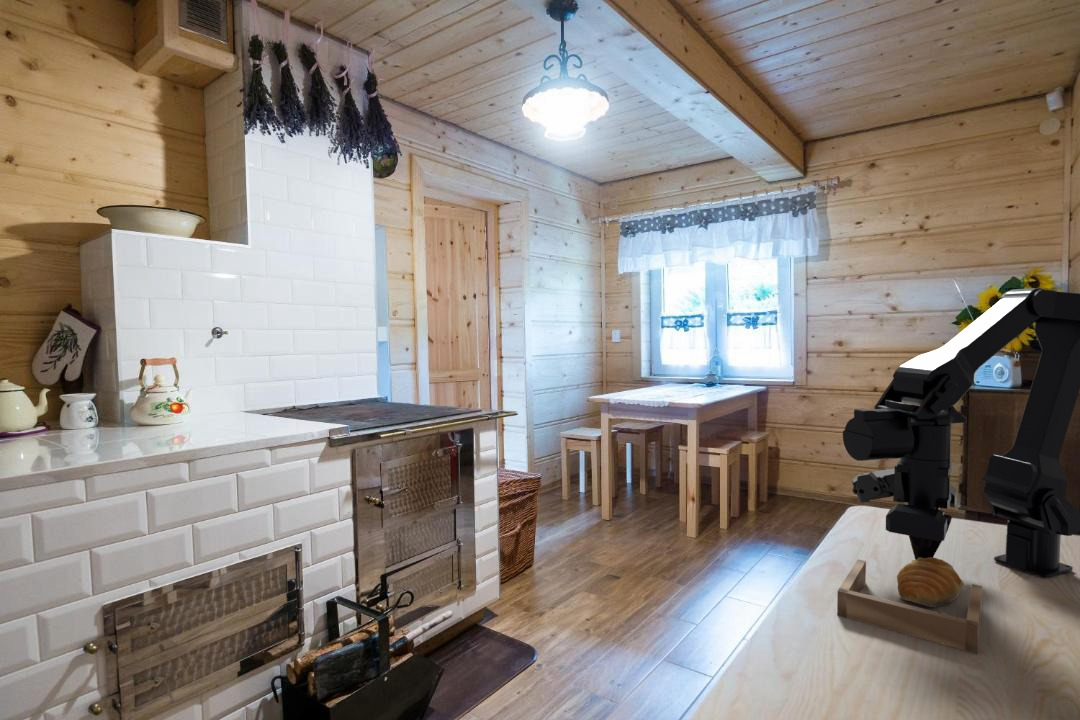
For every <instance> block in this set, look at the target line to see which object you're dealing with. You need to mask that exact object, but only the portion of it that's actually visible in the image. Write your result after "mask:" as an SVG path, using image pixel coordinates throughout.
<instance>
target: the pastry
mask: <svg viewBox="0 0 1080 720" xmlns="http://www.w3.org/2000/svg"><path fill="white" fill-rule="evenodd" d="M910 562H911V563H907V564H906V565H904V566H903V567H902V568H900V571H899V572H898V574H897V575H896V580H897V581H896V582H897V591H898V595H899V596H900V598H901V599H902V600H903V601H906V602H907V601H909V602H913V603H916V604H919V605H922V606H925V607H926V606H927V607H932V608H939V606H942V605H948V604H951V602H953V601H954V600H956V599H957V598H958V597H959V595H960V593H961V591H962V590H963V589H964V588H965V587H964V586H965V583H964V581H962V579H961V577H960V575H959V574H958V573H957V571H956V570H955V569H954V566H953V565H951V564H950V563H948V562H947V561H945V560H943V559H941V558H937V557H934V556H933V557H929V558H921V557H919V558H918V559H917V560H915V559H914V560H912V561H910Z"/></svg>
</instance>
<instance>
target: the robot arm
mask: <svg viewBox="0 0 1080 720" xmlns="http://www.w3.org/2000/svg"><path fill="white" fill-rule="evenodd" d="M1033 324H1035V325H1034V331H1033V332H1034V334H1035V336H1036V338H1037V341H1038V343H1039V346H1040V348H1041V354H1040V356H1039V360H1038V364H1037V367H1036V371H1035V373H1034V377H1033V380H1032V384H1031V387H1030V389H1029V390H1030V391H1029V394H1028V395H1027V396H1028V397H1027V399H1026V403H1025V407H1024V410H1023V413H1022V416H1021V420H1020V423H1019V426H1018V430H1017V433H1016V437H1015V439H1014V443H1013V446H1012V447H1011V448H1010V449H1009V450H1007V451H1006V452H1005V453H1004V454H1002V455H998V454H992V455H991V456H990V457H989V459H988V464H987V470H986V473H985V474H984V476H983V477H982V478H981V481H982V482H984V487H983V494H984V495H985V496H986V498H987V500H988V503H989V505H990V510H991V513H992V515H993V516H997V517H1001V518H1003V519H1007V523H1006V535H1005V553H1004V554H1001V555H997V556H994V558H993V561H995V562H996V563H1001V564H1003V565H1005V566H1009V567H1012V568H1013V569H1018V570H1020V571H1023V572H1026V573H1029V574H1031V575H1034V576H1038V577H1040V578H1045V579H1047V578H1051V577H1054V576H1057V575H1061V574H1064V573H1069V572H1072V571H1073V568H1074V567H1073V566H1071V565H1068V564H1066V563H1063V562H1061V539H1062V538H1061V536H1065V537H1071V536H1073V534H1077V533H1080V512H1079V511H1078V510H1077V509H1076V508H1075V507H1074V506H1073V505H1072V503H1071V502H1070V501H1069V500H1068V499H1067V497H1066V494H1067V488H1068V487H1067V486H1068V480H1067V477H1066V475H1065V473H1064V469H1063V467H1062V464H1061V461H1060V454H1061V453H1062V452H1061V451H1062V449H1063V445H1064V441H1065V439H1066V435H1067V431H1068V429H1069V427H1070V426H1069V425H1070V423H1071V419H1072V415H1073V412H1074V409H1075V407H1076V402H1077V399H1078V395H1079V394H1080V291H1076V292H1075V291H1073V292H1071V291H1070V292H1066V291H1065V292H1064V291H1056V290H1051V289H1046V288H1042V287H1034V288H1033V287H1031V288H1018V289H1010V290H1009V291H1006V292H1004V293H1003V294H1002V295H1001V296H1000V298H999V300H998V301H997V302H996V303H995V304H994V305H992V307H990V308H989V309H987V310H986V311H985V312H983V314H981V315H980V316H979V317H978V318H976V319H975V320H974V321H973V322H971V323H970V324H969V325H967V327H965V328H963V330H962V331H960V332H959V333H958V334H957V335H956V336H954V337H953V338H951V339H950V340H949V341H948V342H946V344H944V345H942V346H941V347H939V348H937V349H933V350H931V351H929V352H925V353H921V354H919V355H917V356H915V357H913V358H912V359H910V360H908V361H906V362H904V363H902V364H901V365H900V366H898V367H897V368H896V369H895V371H894V373H893V375H892V380H891V382H890V383H889V385H887V388H886V389H885V391H883V393H882V395H881V396H880V398H879V399H878V400H877V402H876V404H875V405H874V409H872V408H871V409H867V408H854V409H853V417H852V418H850V419H849V420H848V421H847V423H846V424H845V427H844V430H842V440H843V441H842V442H843V446H844V448H845V451H846V452H847V454H848V455H849V456H850V457H851V458H852V459H853V460H855V461H860V462H863V461H864V462H865V461H875V460H876V461H878V460H893V459H894V460H895V459H898V463H896V464H895V465H894V468H887V469H881V470H876V471H875V470H874V471H869V472H864V473H859V474H858V475H856V476H855V477H854V478H853V479H852V480H851V483H852V486H853V487H852V493H853V494H854V495H856V496H857V499H858V502H859V503H863V504H864V503H869V502H870V501H872V500H873V501H874V500H879V499H886V498H891V497H892V498H893V499H892V501H893V502H896V503H897V504H895V505H894V506H892V507H891V508H890V509H889V511H888V512H887V513H886V515H885V531H887V532H889V533H892V534H893V533H894V534H898V535H904V536H908V539H909V540H910V545H911V548H912V553H913V556H914V560H917V559H918V558H919V557H921V558H929V557H934V556H935V555H936V553H937V551H938V549H939V547H940V545H941V543H942V542H944V541H945V539H946V535H947V533H948V531H949V528H950V524H951V523H952V519H953V516H952V515H949V514H945V512H944V510H942V509H946V510H948V508H956V506H957V503H958V490H957V489H956V488H955V487H954V486H953V485H952V484H951V473H952V470H953V468H952V467H953V462H951V454H952V453H951V450H952V448H951V447H952V424H965V423H967V421H968V420H967V418H966V417H965V416H964V415H963V414H962V413H960V412H959V411H958V410H957V409H956V408H955V407H954V406H955V405H957V403H958V402H960V400H961V399H962V398H963V397H964V395H965V394H966V393H967V392H968V391H969V390H970V388H971V387H972V386H973V382H974V378H975V377H974V376H975V373H976V372H977V371H978V369H980V368H981V367H982V366H983V365H984V364H985V363H987V362H988V361H989V360H990V359H992V358H993V357H994V356H995V355H997V354H998V353H999V352H1000V351H1001V350H1003V349H1004V348H1005V347H1006V346H1008V345H1009V344H1010V343H1011V342H1012V341H1013V340H1014V339H1016V338H1017V337H1018V336H1020V335H1021V334H1022V333H1024V331H1026V330H1027V329H1028V328H1029V327H1031V326H1032V325H1033ZM904 503H906V504H904Z"/></svg>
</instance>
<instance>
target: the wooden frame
mask: <svg viewBox="0 0 1080 720" xmlns="http://www.w3.org/2000/svg"><path fill="white" fill-rule="evenodd" d="M866 571H867V561H866V560H863V559H856V561H855V563H854V564H853V566H852V568H851V569H850V570H849V572H848V574H847V575H846V577H845V578H844V580H843V582H842V583H841V585H840V586H839V588H838V590H837V599H836V602H837V603H836V604H837V608H836V609H837V612H836V613H837V616H840V617H843V618H847V619H850V620H853V621H859V622H861V623H865V624H868V625H873V626H876V627H879V628H882V627H883V629H886V628H887V630H890V631H893V630H894V632H897V631H898V633H901V634H904V635H908V636H912V637H915V638H919V639H923V640H926V641H929V640H930V642H933V641H934V643H937V642H938V643H937V644H940V643H943V644H942V645H944V644H946V645H945V646H947V645H949V646H948V647H951V646H952V648H955V649H959V650H962V651H966V652H969V653H973V654H978V645H979V636H980V627H981V620H982V611H983V609H982V608H983V607H982V606H983V586H982V585H979V584H978V585H977V584H974V583H973V584H971V590H970V596H969V602H968V607H967V615H966V618H961V617H958V616H955V615H954V616H953V615H951V614H945V613H941V612H938V611H933V610H929V609H926V608H922V607H917V606H914V605H909V604H906V603H903V602H902V603H901V602H898V601H894V600H890V599H885V598H881V597H878V596H874V595H869V594H865V593H862V590H863V588H864V586H865V585H866V580H867V578H866V577H867V573H866Z"/></svg>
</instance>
